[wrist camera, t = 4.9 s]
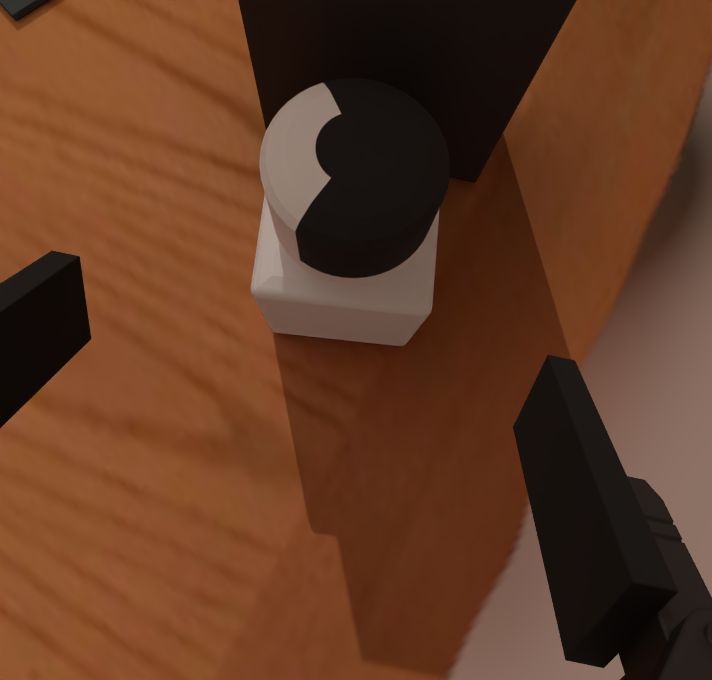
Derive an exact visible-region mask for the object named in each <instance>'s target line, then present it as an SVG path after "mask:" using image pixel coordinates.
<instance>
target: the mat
mask: <svg viewBox="0 0 712 680" xmlns="http://www.w3.org/2000/svg"><path fill="white" fill-rule="evenodd" d="M46 1H48V0H0V4H1V5H2V6H3V7H4V8H5V9H6V11H7V12H8V13H9V14H10V15H11V16H12V17H13V18H14V19H15V20H16V21H17V20H18V19H20V18H21V17H23V16H24V15H26V14H27V13H29V12H31V11H32V10H34V9H35V8H37V7H38V6H40V5H41V4H43V3H45V2H46Z"/></svg>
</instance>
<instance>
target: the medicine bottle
mask: <svg viewBox="0 0 712 680" xmlns="http://www.w3.org/2000/svg"><path fill="white" fill-rule="evenodd" d="M259 166H260V175H261V181H262V184H263V188H264V192H265V196H264V202H263V209H262V216H261V223H260V229H259V236H258V243H257V249H256V256H255V263H254V269H253V276H252V283H251V293H252V295H253V297H254V299H255V301H256V302H257V304H258V306H259V308H260V310H261V312H262V313H263V315H264V317H265V319H266V321H267V323H268V324H269V326H270V328H271V329H272V331H273V332H276V333H283V334H292V335H301V336H310V337H319V338H329V339H338V340H347V341H356V342H365V343H375V344H384V345H393V346H404V345H405V344H407V342H408V341H409V340H410V339H411V337H412V336H413V335H414V333H415V332H416V331H417V330H418V328H419V327H420V326H421V325H422V323H423V322H424V321H425V319H426V318H427V317H428V316H429V314H430V313H431V311H432V305H433V292H434V278H435V264H436V251H437V237H438V223H439V210H440V206H441V204H442V202H443V199H444V197H445V194H446V191H447V188H448V183H449V177H450V160H449V152H448V148H447V145H446V141H445V139H444V136H443V134H442V132H441V129H440V128H439V126H438V125H437V123H436V121H435V120H434V118H433V117H432V116H431V115H430V114H429V112H428V111H427V110H426V109H425V108H424V107H423V106H422V105H421V104H420V103H419V102H418V101H416V100H415V99H413V98H412V97H411V96H409V95H408V94H406V93H404V92H403V91H401V90H399V89H397V88H395V87H393V86H390V85H388V84H385V83H382V82H378V81H374V80H370V79H362V78H344V79H336V80H331V81H327V82H323V83H320V84H317V85H315V86H312V87H310V88H308V89H306V90H304V91H302V92H301V93H299V94H297V95H296V96H295V97H293V98H292V99H291V100H289V101H288V102H287V103H286V104H285V105H284V106H283V107H282V108H281V109H280V110H279V111H278V113H277V114H276V115H275V117H274V118H273V119H272V121H271V123H270V125H269V127H268V128H267V130H266V133H265V136H264V138H263V141H262V146H261V151H260V165H259Z"/></svg>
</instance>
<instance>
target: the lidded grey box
mask: <svg viewBox="0 0 712 680" xmlns="http://www.w3.org/2000/svg"><path fill="white" fill-rule="evenodd" d="M238 1H239V5H240V10H241V15H242V19H243V24H244V29H245V33H246V38H247V43H248V47H249V52H250V57H251V62H252V66H253V71H254V76H255V80H256V85H257V90H258V94H259V99H260V104H261V108H262V113H263V118H264V123H265V127H266V130H267V128H268V127H269V125H270V123H271V121H272V119H273V118H274V117H275V115H276V114H277V113H278V111H279V110H280V109H281V108H282V107H283V106H284V105H285V104H286V103H287V102H288V101H289V100H291V99H292V98H293V97H295V96H296V95H297V94H299V93H301V92H302V91H304V90H306V89H308V88H310V87H312V86H315V85H317V84H320V83H323V82H327V81H331V80H336V79H344V78H362V79H370V80H374V81H378V82H382V83H385V84H388V85H390V86H393V87H395V88H397V89H399V90H401V91H403V92H404V93H406V94H408V95H409V96H411V97H412V98H413V99H415V100H416V101H418V102H419V103H420V104H421V105H422V106H423V107H424V108H425V109H426V110H427V111H428V112H429V114H430V115H431V116H432V117H433V118H434V120H435V121H436V123H437V125H438V126H439V128H440V129H441V132H442V134H443V136H444V139H445V141H446V145H447V148H448V152H449V160H450V177H453V178H458V179H463V180H467V181H472V182H476V180H477V178H478V177H479V175H480V173H481V171H482V169H483V168H484V166H485V164H486V162H487V160H488V159H489V157H490V155H491V153H492V151H493V150H494V148H495V146H496V144H497V142H498V141H499V139H500V137H501V135H502V133H503V132H504V130H505V128H506V126H507V124H508V123H509V121H510V119H511V117H512V115H513V114H514V112H515V110H516V108H517V106H518V105H519V103H520V101H521V99H522V97H523V96H524V94H525V92H526V90H527V88H528V87H529V85H530V83H531V81H532V79H533V78H534V76H535V74H536V72H537V70H538V69H539V67H540V65H541V63H542V61H543V60H544V58H545V56H546V54H547V52H548V51H549V49H550V47H551V45H552V43H553V42H554V40H555V38H556V36H557V34H558V33H559V31H560V29H561V27H562V25H563V24H564V22H565V20H566V18H567V16H568V15H569V13H570V11H571V9H572V7H573V6H574V4H575V2H576V0H238Z"/></svg>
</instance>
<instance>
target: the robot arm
mask: <svg viewBox="0 0 712 680" xmlns="http://www.w3.org/2000/svg"><path fill="white" fill-rule="evenodd" d="M90 340H91V334H90V327H89V320H88V313H87V306H86V299H85V291H84V284H83V277H82V270H81V263H80V256H75V255H70V254H65V253H61V252H56V251H51V252H49V253H48V254H46V255H45V256H43V257H41V258H40V259H38V260H37V261H35V262H34V263H32V264H30V265H29V266H27V267H26V268H24V269H23V270H21V271H19V272H18V273H16V274H15V275H13V276H12V277H10V278H8V279H7V280H5V281H4V282H2V283H1V284H0V428H1V427H2V426H3V425H4V424H5V423H6V422H7V421H8V420H9V419H10V418H11V417H12V416H13V415H14V414H15V413H16V412H17V411H18V410H19V409H20V408H21V407H22V406H23V405H24V404H25V403H26V402H27V401H28V400H29V399H30V398H32V397H33V396H34V395H35V394H36V393H37V392H38V391H39V390H40V389H41V388H42V387H43V386H44V385H45V384H46V383H47V382H48V381H49V380H50V379H51V378H52V377H53V376H54V375H55V374H56V373H57V372H58V371H59V370H60V369H61V368H62V367H63V366H64V365H65V364H66V363H67V362H68V361H69V360H70V359H71V358H72V357H73V356H74V355H75V354H76V353H77V352H78V351H79V350H80V349H81V348H82V347H83V346H84V345H86V344H87V343H88V342H89V341H90ZM513 429H514V434H515V438H516V443H517V447H518V451H519V456H520V460H521V465H522V469H523V474H524V478H525V482H526V487H527V491H528V496H529V500H530V505H531V509H532V513H533V518H534V522H535V527H536V531H537V536H538V540H539V544H540V549H541V553H542V558H543V562H544V567H545V571H546V575H547V580H548V584H549V589H550V593H551V598H552V602H553V607H554V611H555V615H556V619H557V624H558V629H559V633H560V638H561V642H562V646H563V650H564V655H565V659H566V660H567V661H572V662H577V663H582V664H587V665H592V666H597V667H602V668H604V667H605V666H606V665H607V664H608V663H609V662H610V661H611V660H612V659H613V658H614V657H615V656H616V655H617V654H618V653H619V656H620V659H621V662H622V666H623V669H624V672H625V675H624V676H623V677H622V678H621V679H620V680H712V597H711V595H710V593H709V591H708V590H707V587H706V586H705V583H704V581H703V579H702V578H701V575H700V574H699V571H698V569H697V567H696V565H695V563H694V562H693V560H692V557H691V555H690V553H689V552H688V549H687V548H686V545H685V544H684V543H682V542H681V540H682V538H681V536H680V534H679V532H678V530H677V528H676V526H675V525H673V520H672V518H671V516H670V514H669V512H668V510H667V508H666V506H665V504H664V502H663V500H662V499H661V498H660V496H659V495H658V494H657V493H656V492H655V491H654V490H653V489H652V488H651V487H650V485H649V484H648V483H647V482H646V481H645V480H642V479H638V478H633V477H627V475H626V473H625V471H624V469H623V467H622V464H621V462H620V460H619V458H618V456H617V453H616V451H615V449H614V447H613V444H612V442H611V440H610V438H609V435H608V433H607V431H606V429H605V427H604V424H603V422H602V420H601V418H600V415H599V413H598V411H597V409H596V406H595V404H594V402H593V400H592V398H591V395H590V393H589V391H588V389H587V386H586V384H585V382H584V380H583V377H582V375H581V373H580V371H579V369H578V366H577V364H576V362H575V361H574V360H569V359H565V358H560V357H555V356H550V355H548V356H547V358H546V360H545V362H544V364H543V366H542V368H541V370H540V372H539V374H538V376H537V378H536V380H535V383H534V385H533V387H532V389H531V391H530V393H529V395H528V397H527V399H526V401H525V403H524V405H523V407H522V409H521V412H520V414H519V416H518V418H517V420H516V422H515V424H514V426H513Z"/></svg>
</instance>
